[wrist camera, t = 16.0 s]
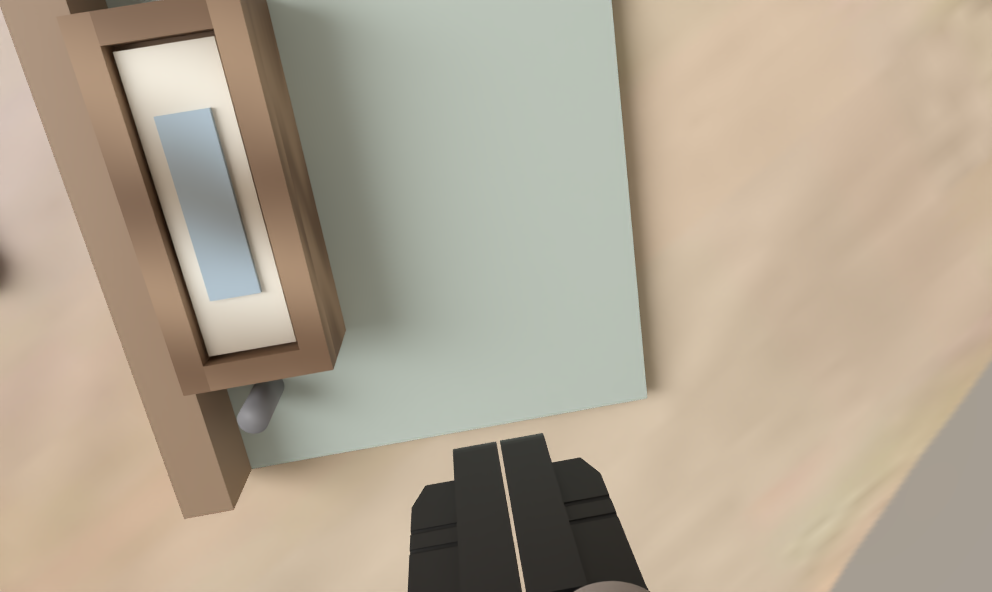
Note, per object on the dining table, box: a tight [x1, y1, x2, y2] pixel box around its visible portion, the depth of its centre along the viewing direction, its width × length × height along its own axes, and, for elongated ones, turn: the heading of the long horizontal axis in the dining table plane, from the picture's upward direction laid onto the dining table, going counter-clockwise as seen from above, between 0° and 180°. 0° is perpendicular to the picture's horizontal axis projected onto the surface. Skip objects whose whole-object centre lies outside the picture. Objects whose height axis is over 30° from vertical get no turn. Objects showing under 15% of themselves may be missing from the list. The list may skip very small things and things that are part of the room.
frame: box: [56, 0, 346, 396], centre depth 25 cm, size 13×6×4 cm, turn 9°
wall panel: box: [0, 0, 647, 519], centre depth 27 cm, size 24×20×4 cm
